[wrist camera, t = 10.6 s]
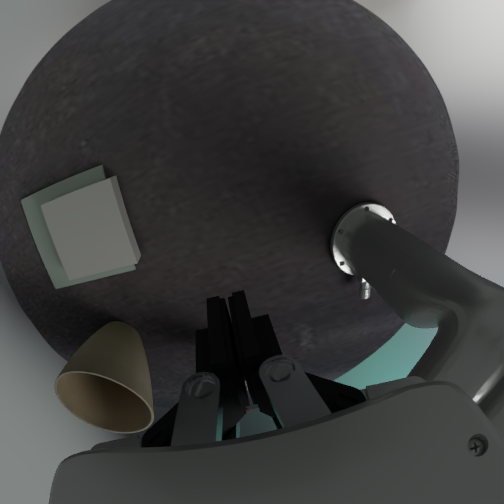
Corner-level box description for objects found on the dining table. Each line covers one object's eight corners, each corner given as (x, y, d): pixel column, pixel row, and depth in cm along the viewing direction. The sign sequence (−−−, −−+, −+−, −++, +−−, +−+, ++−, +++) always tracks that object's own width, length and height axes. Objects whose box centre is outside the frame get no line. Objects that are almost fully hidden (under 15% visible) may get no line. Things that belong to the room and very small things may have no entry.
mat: (135, 268, 39) (135, 269, 39) (56, 287, 38) (55, 289, 37) (102, 164, 32) (101, 165, 32) (22, 199, 31) (20, 200, 31)
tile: (137, 263, 35) (69, 280, 35) (141, 254, 38) (76, 272, 37) (110, 178, 30) (40, 205, 29) (116, 174, 33) (49, 200, 32)
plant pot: (177, 352, 47) (174, 426, 32) (115, 371, 47) (101, 436, 33) (131, 289, 40) (105, 361, 26) (69, 316, 40) (36, 381, 26)
